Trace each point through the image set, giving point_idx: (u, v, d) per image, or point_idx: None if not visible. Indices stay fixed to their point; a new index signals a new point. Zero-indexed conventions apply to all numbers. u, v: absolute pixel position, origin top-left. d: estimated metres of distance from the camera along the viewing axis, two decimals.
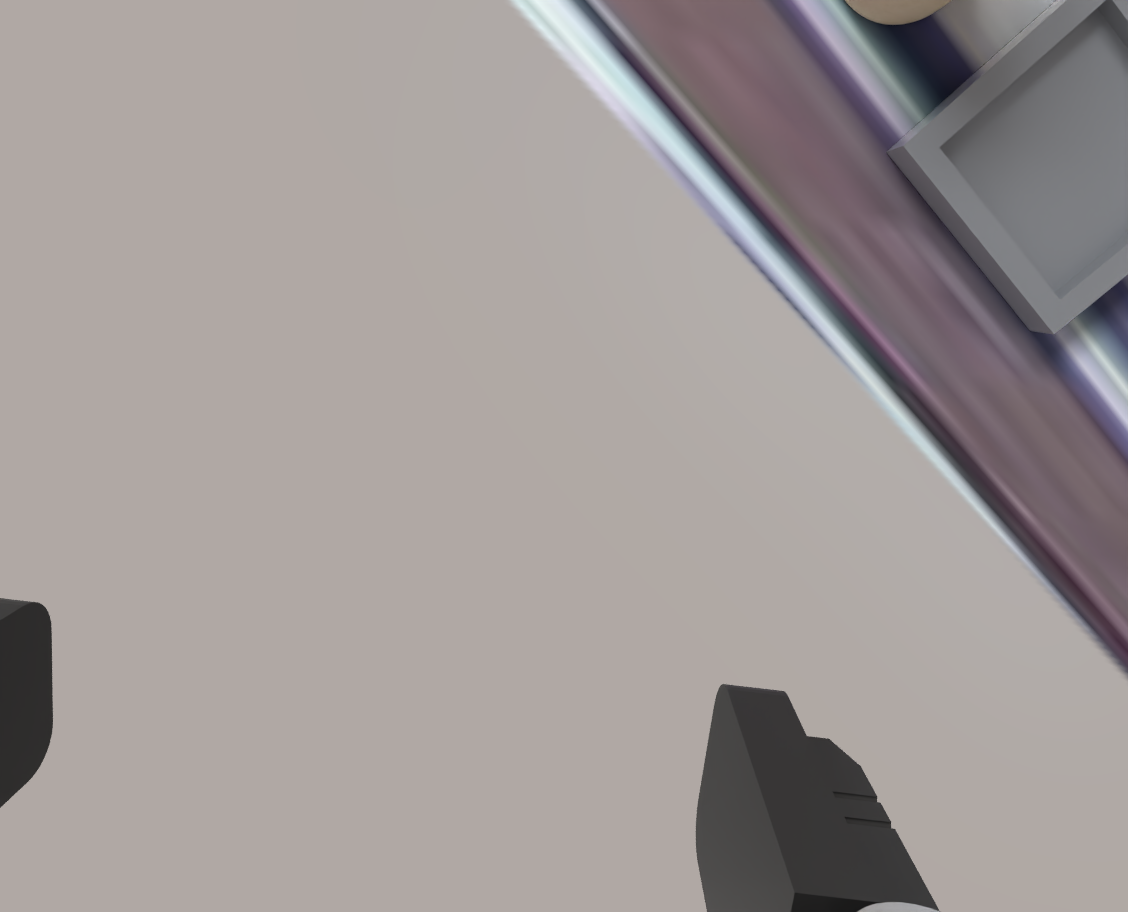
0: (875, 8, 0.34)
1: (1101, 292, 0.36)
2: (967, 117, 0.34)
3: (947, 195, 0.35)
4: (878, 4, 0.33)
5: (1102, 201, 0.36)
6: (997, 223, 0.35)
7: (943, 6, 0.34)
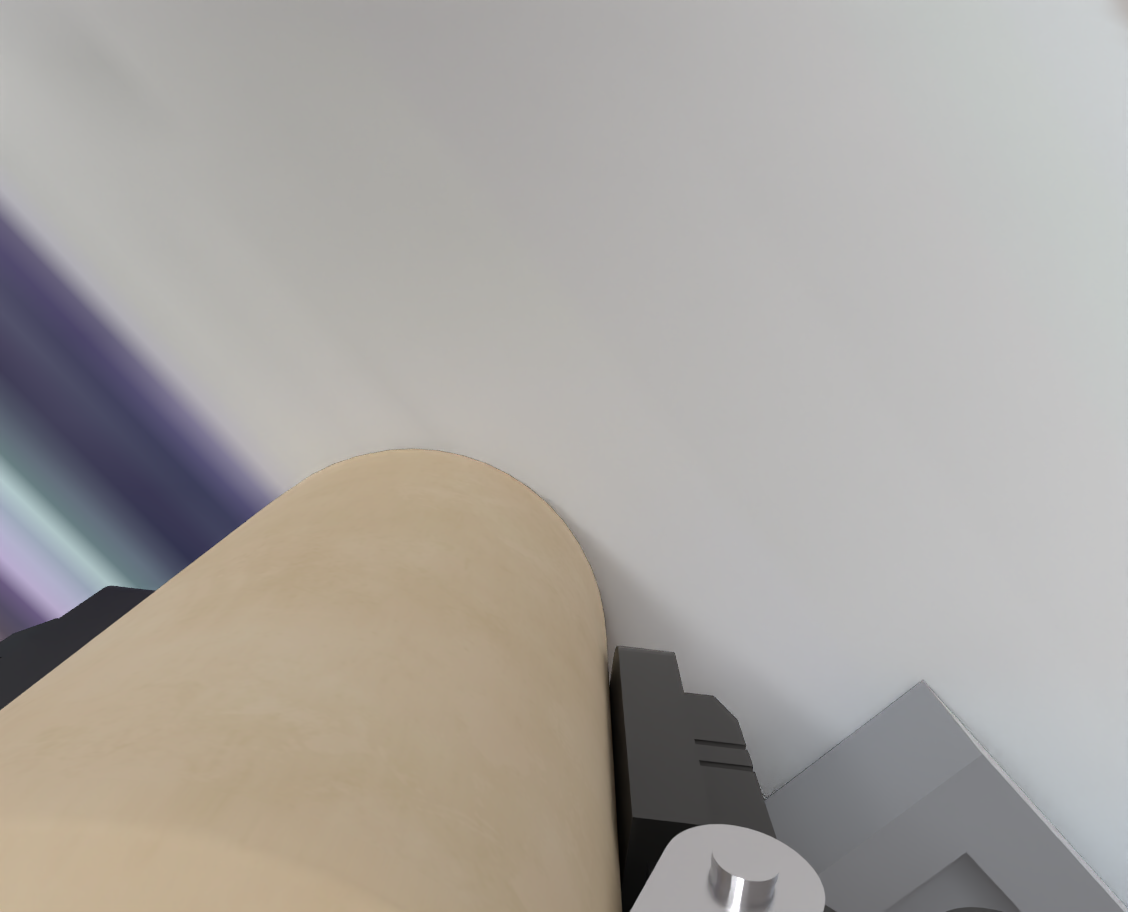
0: None
1: None
2: None
3: None
4: None
5: None
6: None
7: None
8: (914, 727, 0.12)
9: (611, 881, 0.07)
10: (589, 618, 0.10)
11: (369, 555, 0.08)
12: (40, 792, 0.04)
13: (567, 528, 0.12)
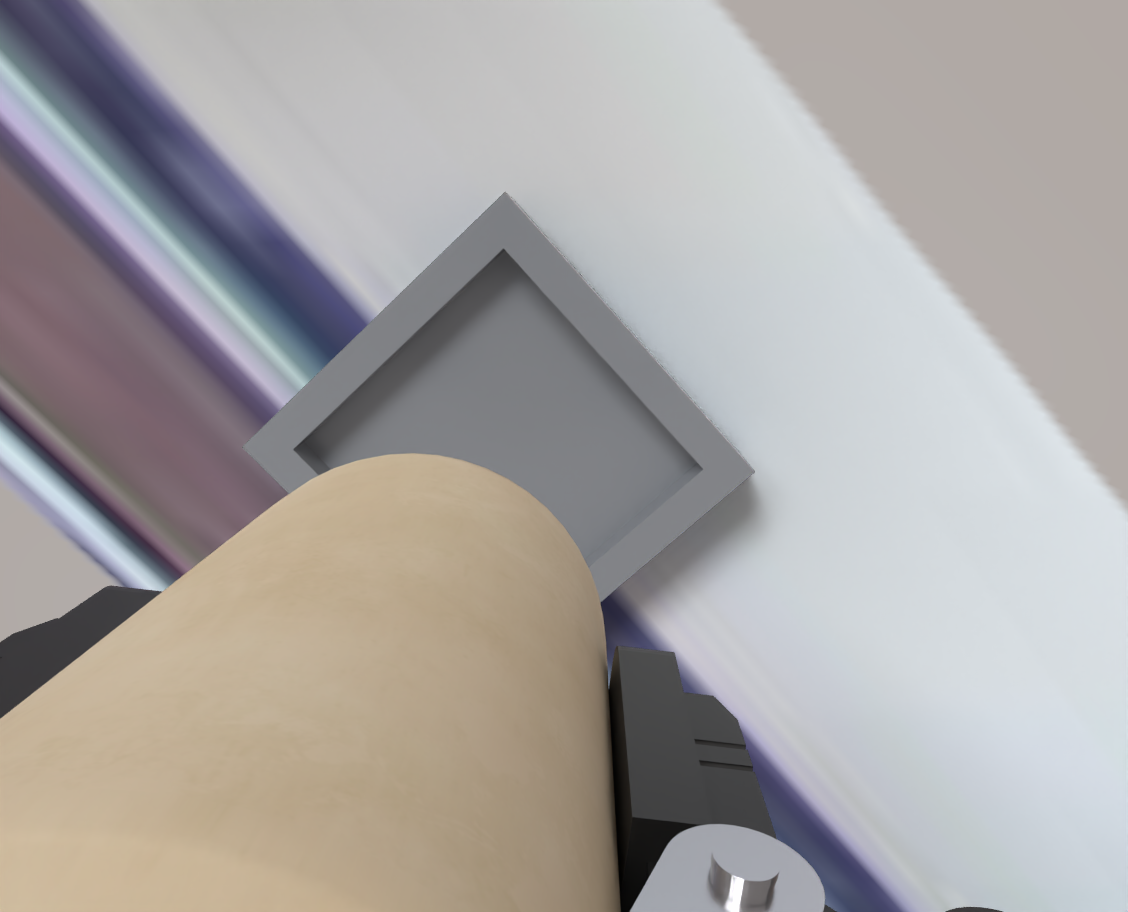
0: None
1: None
2: (325, 410, 0.24)
3: None
4: None
5: (553, 510, 0.25)
6: None
7: None
8: None
9: (610, 889, 0.07)
10: (588, 623, 0.10)
11: (368, 562, 0.08)
12: (39, 806, 0.04)
13: (567, 532, 0.12)
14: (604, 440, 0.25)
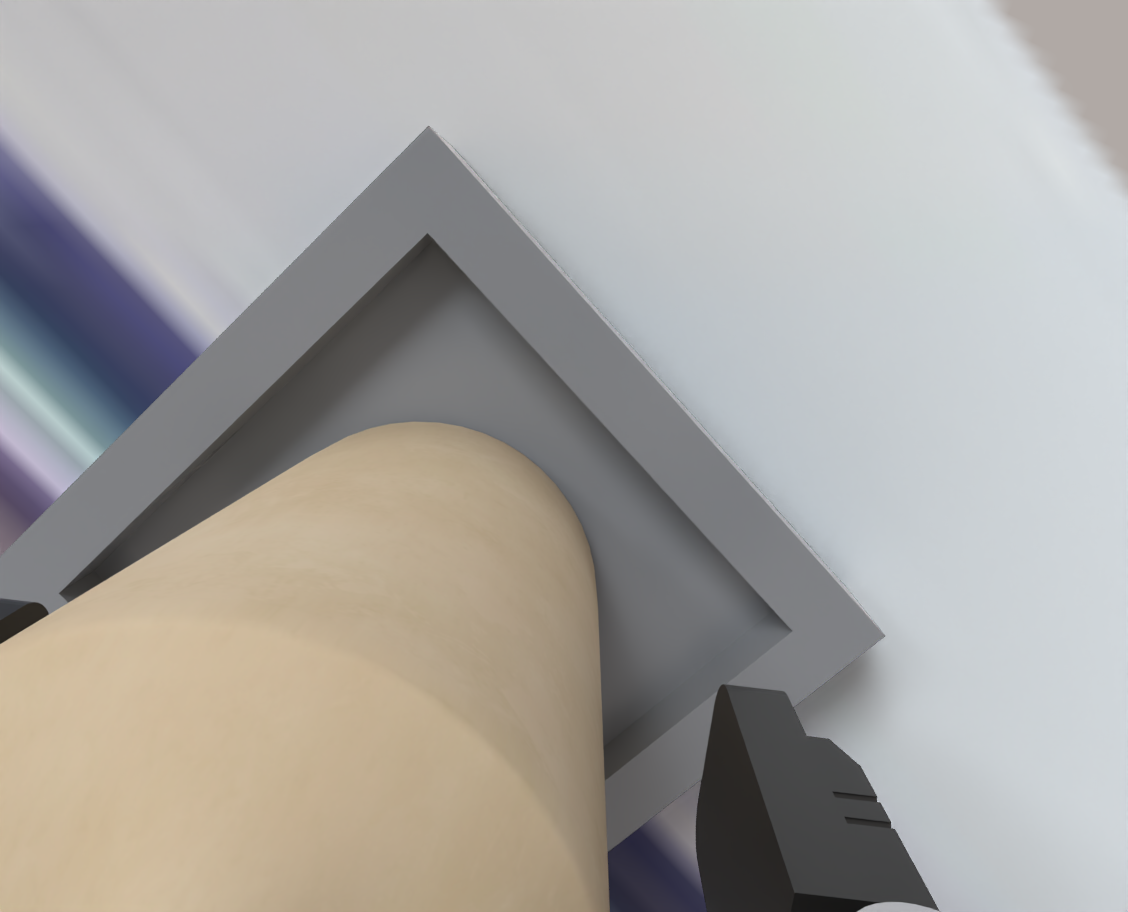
0: None
1: None
2: (112, 526, 0.13)
3: None
4: None
5: None
6: None
7: None
8: None
9: (590, 733, 0.08)
10: (577, 556, 0.12)
11: (381, 484, 0.09)
12: (138, 605, 0.06)
13: (558, 488, 0.14)
14: (614, 570, 0.14)
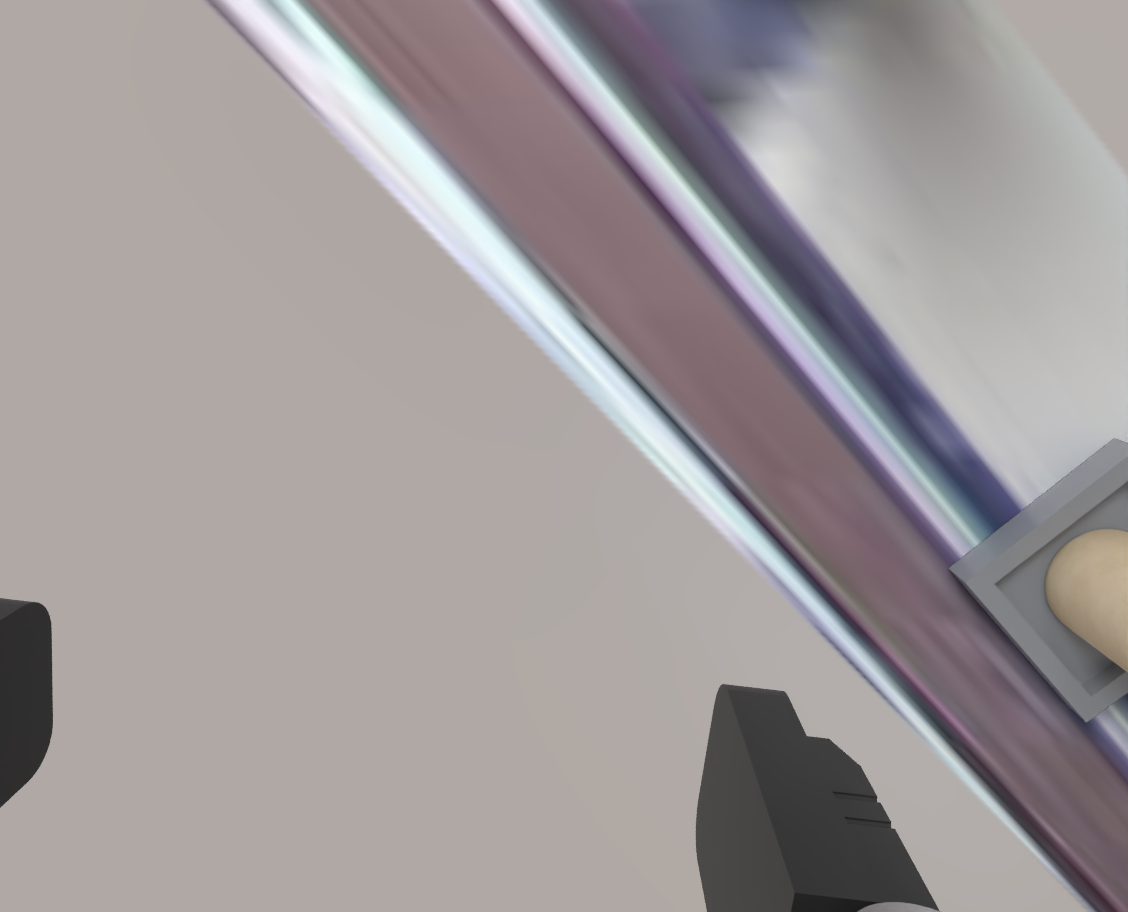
0: None
1: (1124, 692, 0.44)
2: (1017, 562, 0.42)
3: (1000, 619, 0.43)
4: None
5: None
6: (1040, 640, 0.43)
7: None
8: (1114, 448, 0.42)
9: None
10: None
11: None
12: None
13: None
14: None
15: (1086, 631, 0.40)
